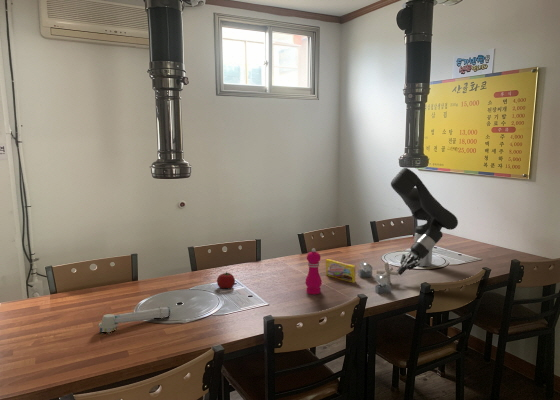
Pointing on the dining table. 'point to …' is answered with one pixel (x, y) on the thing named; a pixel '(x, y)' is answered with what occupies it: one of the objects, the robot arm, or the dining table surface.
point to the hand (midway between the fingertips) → (398, 273)
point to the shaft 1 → (365, 270)
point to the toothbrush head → (131, 318)
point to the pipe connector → (387, 271)
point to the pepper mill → (313, 273)
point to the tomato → (226, 280)
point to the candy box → (340, 270)
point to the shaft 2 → (382, 285)
